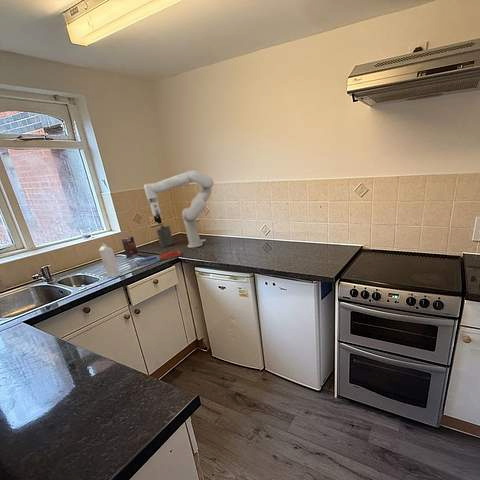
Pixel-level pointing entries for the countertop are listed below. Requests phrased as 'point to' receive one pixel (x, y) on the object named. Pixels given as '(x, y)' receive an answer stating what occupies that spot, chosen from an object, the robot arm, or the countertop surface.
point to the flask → (164, 236)
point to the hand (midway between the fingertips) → (158, 222)
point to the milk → (109, 261)
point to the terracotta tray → (169, 256)
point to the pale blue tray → (148, 261)
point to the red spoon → (170, 254)
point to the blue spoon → (148, 259)
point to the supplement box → (130, 247)
